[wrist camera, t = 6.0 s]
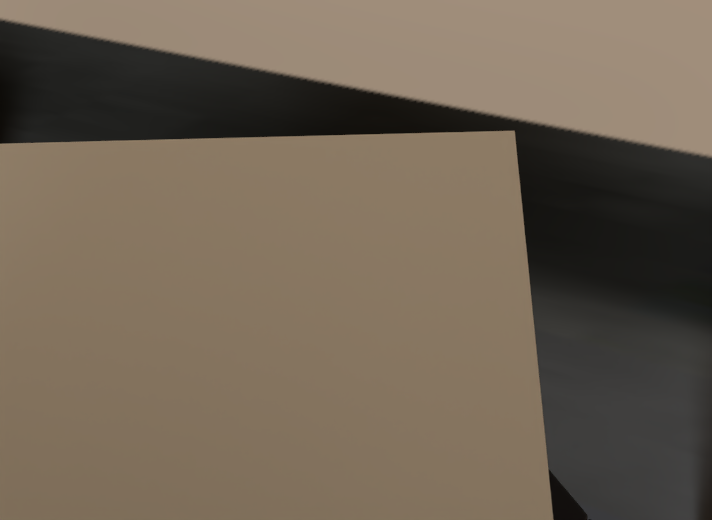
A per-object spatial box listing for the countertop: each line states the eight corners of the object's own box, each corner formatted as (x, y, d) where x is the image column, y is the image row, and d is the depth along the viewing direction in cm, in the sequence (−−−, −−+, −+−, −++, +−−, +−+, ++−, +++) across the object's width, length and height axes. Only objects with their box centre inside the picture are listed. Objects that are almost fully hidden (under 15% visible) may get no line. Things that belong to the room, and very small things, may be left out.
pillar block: (407, 525, 14) (653, 1529, 2) (206, 525, 14) (-798, 1468, 2) (400, 321, 15) (515, 129, 3) (217, 324, 16) (-328, 152, 3)
